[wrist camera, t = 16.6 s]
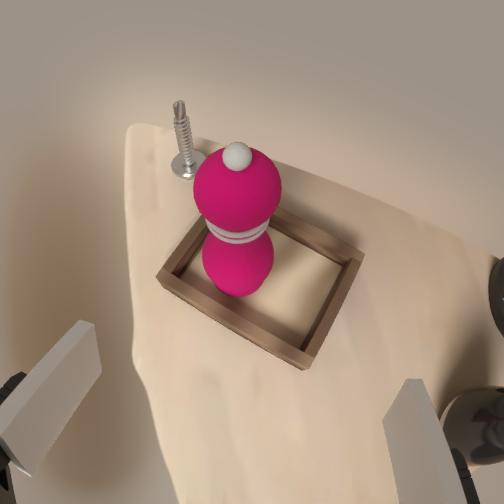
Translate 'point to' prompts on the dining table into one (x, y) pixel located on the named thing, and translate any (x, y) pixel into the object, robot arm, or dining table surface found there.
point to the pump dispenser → (476, 424)
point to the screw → (185, 145)
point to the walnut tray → (273, 287)
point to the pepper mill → (237, 217)
